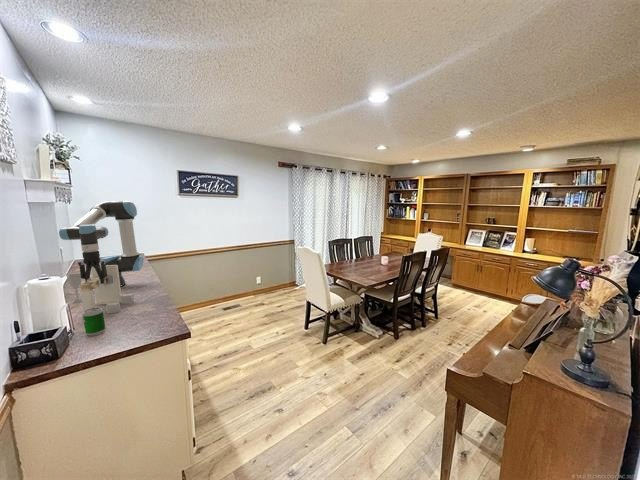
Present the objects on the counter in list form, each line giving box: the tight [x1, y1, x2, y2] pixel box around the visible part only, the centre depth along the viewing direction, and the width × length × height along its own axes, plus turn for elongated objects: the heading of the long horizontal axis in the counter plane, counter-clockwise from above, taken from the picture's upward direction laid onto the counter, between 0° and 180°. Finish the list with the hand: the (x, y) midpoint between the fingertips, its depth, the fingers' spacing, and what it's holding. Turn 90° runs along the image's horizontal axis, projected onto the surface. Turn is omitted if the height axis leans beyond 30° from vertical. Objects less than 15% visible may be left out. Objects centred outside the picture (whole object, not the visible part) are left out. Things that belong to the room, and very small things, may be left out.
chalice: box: [66, 272, 83, 304], centre depth 170 cm, size 7×7×18 cm
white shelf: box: [80, 265, 122, 313], centre depth 159 cm, size 20×14×24 cm
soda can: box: [82, 306, 106, 337], centre depth 129 cm, size 8×8×12 cm
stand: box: [105, 293, 135, 314], centre depth 161 cm, size 18×6×5 cm, turn 10°
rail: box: [79, 276, 108, 292], centre depth 157 cm, size 18×4×4 cm, turn 10°
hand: (96, 289), depth 158 cm, fingers open, 5 cm apart
